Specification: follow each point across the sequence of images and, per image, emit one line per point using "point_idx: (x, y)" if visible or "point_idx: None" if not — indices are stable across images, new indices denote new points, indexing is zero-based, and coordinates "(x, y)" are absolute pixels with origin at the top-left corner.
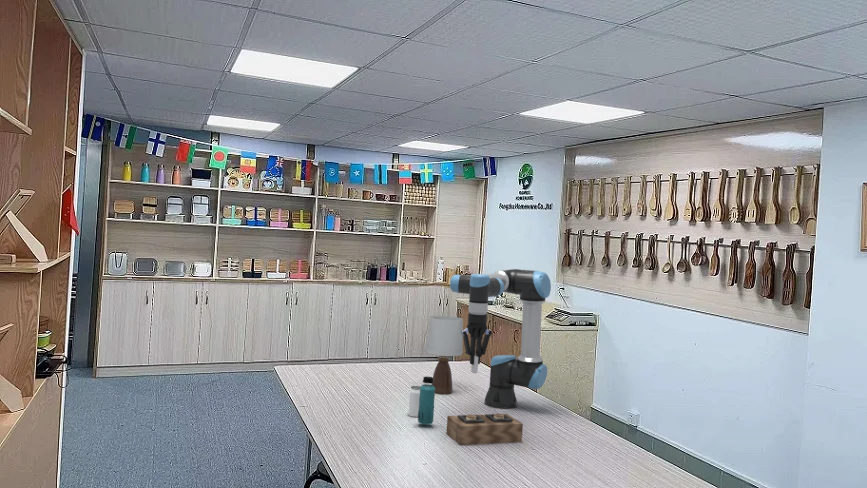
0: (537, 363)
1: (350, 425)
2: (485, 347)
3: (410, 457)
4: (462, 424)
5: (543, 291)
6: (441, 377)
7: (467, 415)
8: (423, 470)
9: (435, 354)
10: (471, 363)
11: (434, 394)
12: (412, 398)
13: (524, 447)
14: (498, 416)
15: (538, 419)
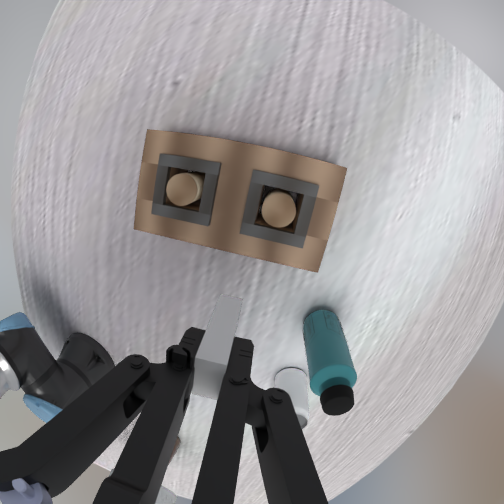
0: None
1: (434, 354)
2: (100, 393)
3: (464, 157)
4: (331, 183)
5: None
6: None
7: (287, 219)
8: (469, 95)
9: (167, 489)
10: (251, 344)
11: (318, 359)
12: (308, 401)
13: (188, 97)
14: (191, 177)
15: (60, 260)
